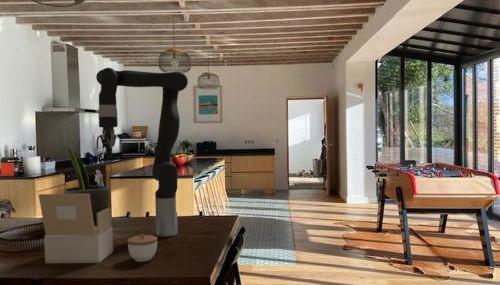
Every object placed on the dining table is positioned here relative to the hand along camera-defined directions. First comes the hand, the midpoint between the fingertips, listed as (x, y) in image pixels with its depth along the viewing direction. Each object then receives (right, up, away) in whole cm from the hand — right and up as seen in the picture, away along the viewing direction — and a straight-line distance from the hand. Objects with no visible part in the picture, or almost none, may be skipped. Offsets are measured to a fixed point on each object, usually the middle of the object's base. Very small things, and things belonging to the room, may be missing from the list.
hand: (109, 156), depth 178 cm
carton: (-5, -38, -18) cm, 42 cm away
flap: (-6, -20, -27) cm, 34 cm away
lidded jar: (+20, -38, -22) cm, 48 cm away
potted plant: (-23, -37, +37) cm, 57 cm away
